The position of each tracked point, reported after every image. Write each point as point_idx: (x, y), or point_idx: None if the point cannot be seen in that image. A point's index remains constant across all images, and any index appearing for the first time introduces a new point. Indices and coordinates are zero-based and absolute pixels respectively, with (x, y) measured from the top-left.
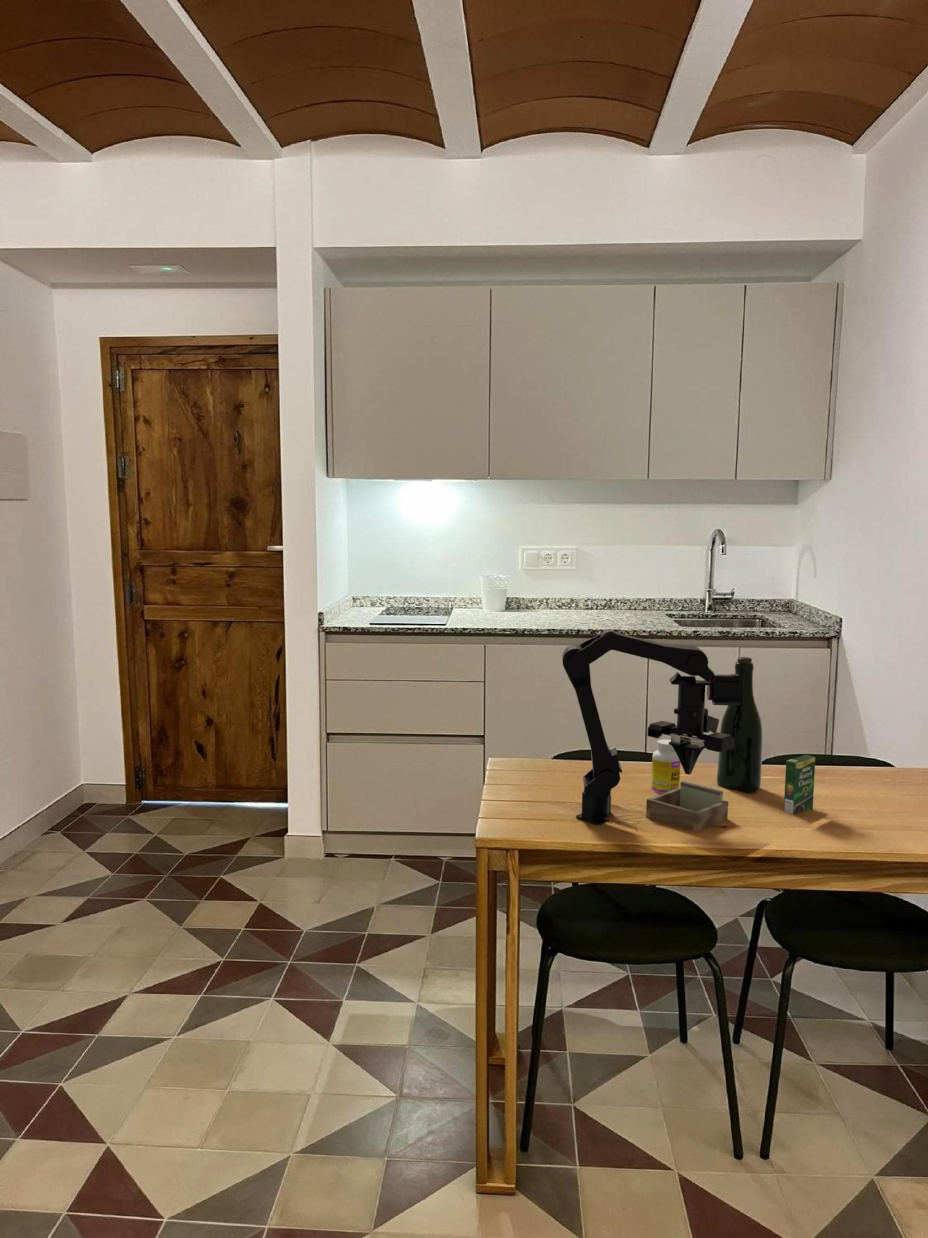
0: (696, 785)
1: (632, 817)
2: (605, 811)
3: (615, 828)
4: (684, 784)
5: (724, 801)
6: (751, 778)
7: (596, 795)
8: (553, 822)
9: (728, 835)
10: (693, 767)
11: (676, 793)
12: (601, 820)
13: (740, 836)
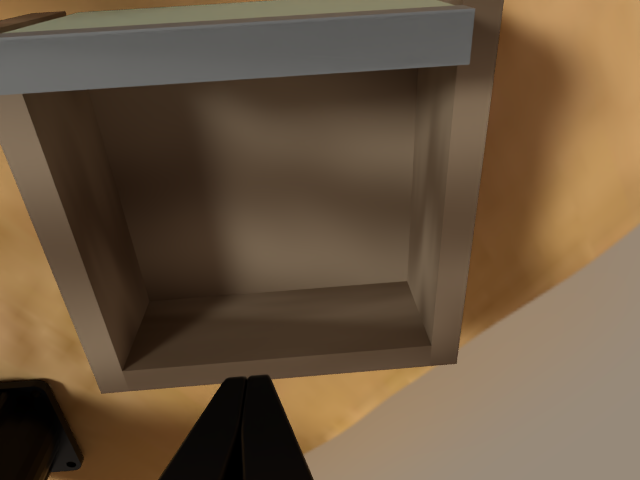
0: (173, 63)
1: (59, 314)
2: (42, 467)
3: (143, 434)
4: (48, 89)
5: (477, 25)
6: None
7: None
8: None
9: (529, 157)
10: (291, 433)
11: (38, 103)
12: (61, 449)
13: (587, 120)
